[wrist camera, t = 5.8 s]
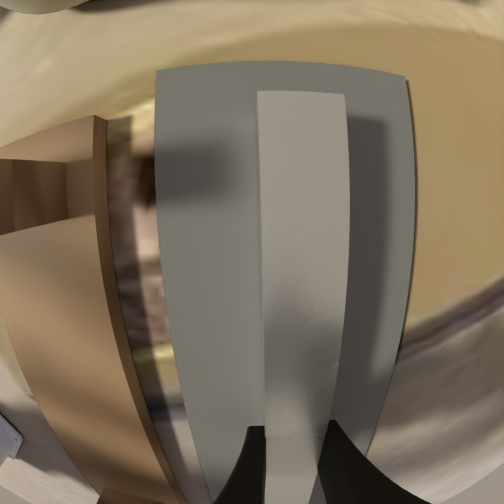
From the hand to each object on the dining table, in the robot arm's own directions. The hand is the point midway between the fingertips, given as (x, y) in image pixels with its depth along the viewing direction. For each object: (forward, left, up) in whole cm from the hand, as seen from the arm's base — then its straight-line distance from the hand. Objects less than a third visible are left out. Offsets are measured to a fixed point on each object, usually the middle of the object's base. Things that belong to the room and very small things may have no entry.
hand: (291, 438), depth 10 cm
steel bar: (0, 0, -1) cm, 1 cm away
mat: (0, 0, -2) cm, 2 cm away
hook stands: (-7, +7, -2) cm, 10 cm away
